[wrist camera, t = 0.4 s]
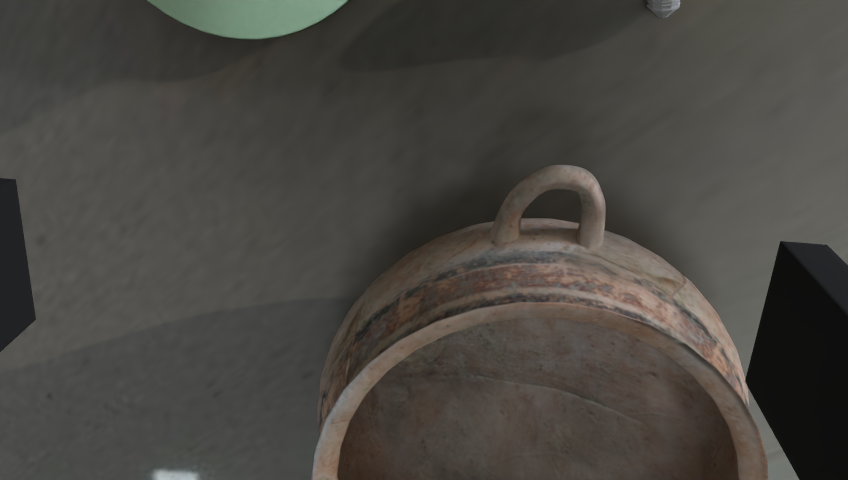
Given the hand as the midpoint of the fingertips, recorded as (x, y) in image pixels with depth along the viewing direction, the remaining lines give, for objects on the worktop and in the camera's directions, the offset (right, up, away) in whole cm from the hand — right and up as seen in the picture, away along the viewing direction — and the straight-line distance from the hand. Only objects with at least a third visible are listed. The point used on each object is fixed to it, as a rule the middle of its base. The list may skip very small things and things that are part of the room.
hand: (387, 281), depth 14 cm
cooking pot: (+6, -5, +28) cm, 29 cm away
